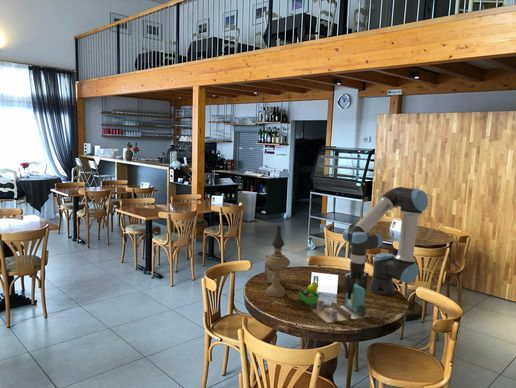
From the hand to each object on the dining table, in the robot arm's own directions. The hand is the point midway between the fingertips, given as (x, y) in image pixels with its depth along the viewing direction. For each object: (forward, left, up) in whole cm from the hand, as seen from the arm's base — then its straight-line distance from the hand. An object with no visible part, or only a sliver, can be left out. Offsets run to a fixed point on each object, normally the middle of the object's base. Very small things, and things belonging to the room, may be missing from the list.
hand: (354, 304), depth 216 cm
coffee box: (+23, -55, -5) cm, 60 cm away
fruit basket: (+16, -19, -5) cm, 26 cm away
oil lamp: (+29, -36, -5) cm, 47 cm away
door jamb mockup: (+8, 0, -4) cm, 10 cm away
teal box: (0, 0, -2) cm, 2 cm away
